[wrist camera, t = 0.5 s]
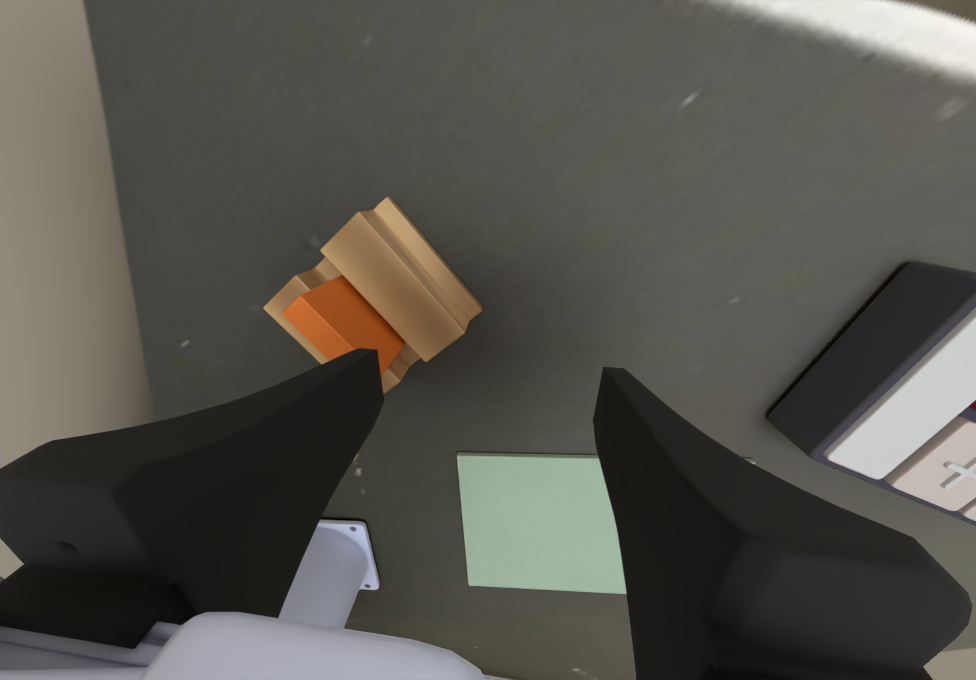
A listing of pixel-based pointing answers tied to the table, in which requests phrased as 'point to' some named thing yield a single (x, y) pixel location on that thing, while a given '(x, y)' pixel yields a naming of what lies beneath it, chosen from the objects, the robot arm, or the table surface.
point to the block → (343, 322)
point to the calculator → (899, 393)
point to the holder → (389, 285)
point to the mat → (539, 522)
